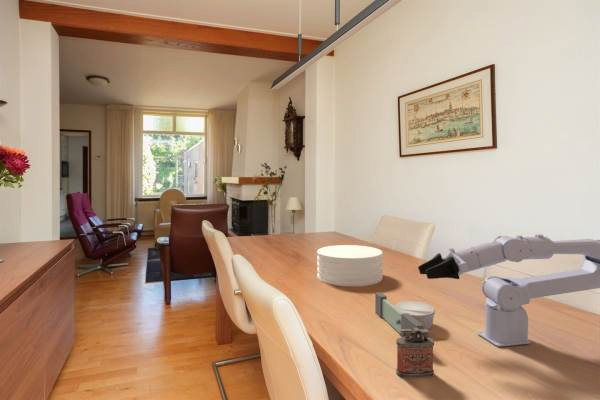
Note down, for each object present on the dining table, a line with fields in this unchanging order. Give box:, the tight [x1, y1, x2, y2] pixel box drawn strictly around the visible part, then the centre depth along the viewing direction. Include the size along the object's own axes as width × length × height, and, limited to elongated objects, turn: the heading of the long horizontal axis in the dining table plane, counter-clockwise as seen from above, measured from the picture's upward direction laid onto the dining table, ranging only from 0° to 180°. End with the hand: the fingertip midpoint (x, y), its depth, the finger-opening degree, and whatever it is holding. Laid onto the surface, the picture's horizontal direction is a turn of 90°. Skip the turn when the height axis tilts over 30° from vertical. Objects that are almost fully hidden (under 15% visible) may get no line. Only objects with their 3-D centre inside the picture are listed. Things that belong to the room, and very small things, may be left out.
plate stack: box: [316, 244, 384, 287], centre depth 154 cm, size 28×28×12 cm
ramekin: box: [394, 300, 436, 331], centre depth 103 cm, size 11×11×5 cm
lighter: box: [395, 327, 435, 379], centre depth 77 cm, size 8×3×10 cm, turn 92°
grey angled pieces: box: [374, 292, 424, 338], centre depth 100 cm, size 2×26×6 cm, turn 10°
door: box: [382, 299, 403, 334], centre depth 102 cm, size 2×13×6 cm, turn 10°
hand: (422, 272), depth 93 cm, fingers open, 7 cm apart
